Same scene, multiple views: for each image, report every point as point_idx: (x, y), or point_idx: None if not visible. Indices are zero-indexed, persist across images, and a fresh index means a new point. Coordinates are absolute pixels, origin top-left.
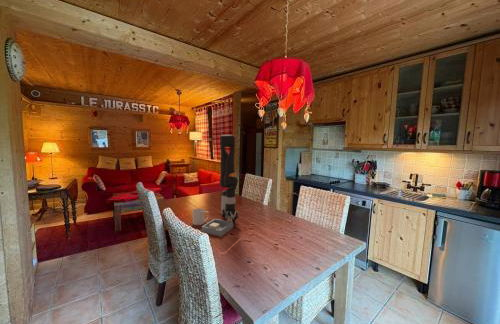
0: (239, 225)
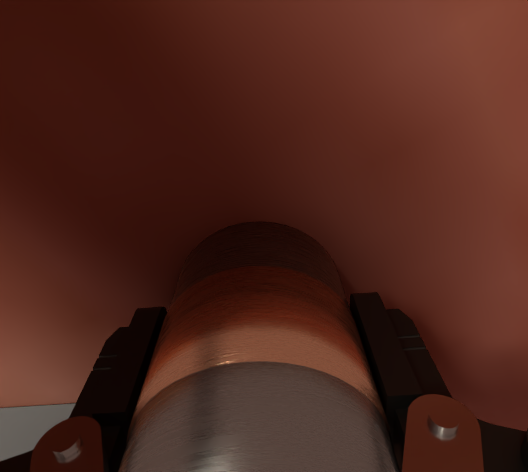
0: (482, 191)
